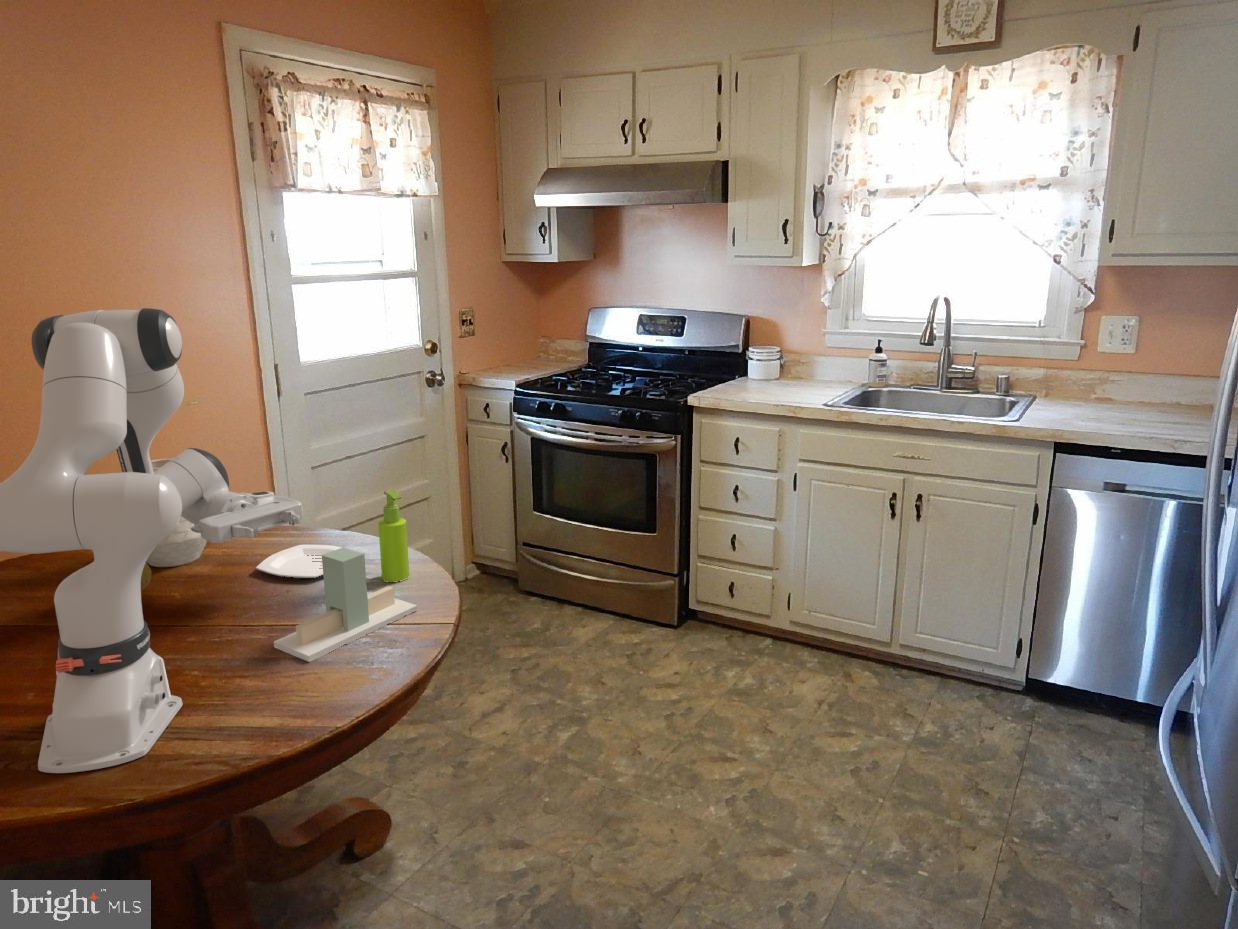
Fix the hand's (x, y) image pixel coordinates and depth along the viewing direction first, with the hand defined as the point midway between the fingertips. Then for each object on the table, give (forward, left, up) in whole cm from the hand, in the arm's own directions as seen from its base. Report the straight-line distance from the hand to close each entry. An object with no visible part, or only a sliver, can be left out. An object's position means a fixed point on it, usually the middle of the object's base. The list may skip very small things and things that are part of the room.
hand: (276, 526), depth 168 cm
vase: (+37, +27, -18) cm, 49 cm away
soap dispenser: (+11, -22, -18) cm, 31 cm away
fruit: (+14, +33, -18) cm, 40 cm away
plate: (+24, -3, -18) cm, 30 cm away
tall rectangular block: (-12, -12, -17) cm, 24 cm away
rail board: (-12, -12, -18) cm, 25 cm away
